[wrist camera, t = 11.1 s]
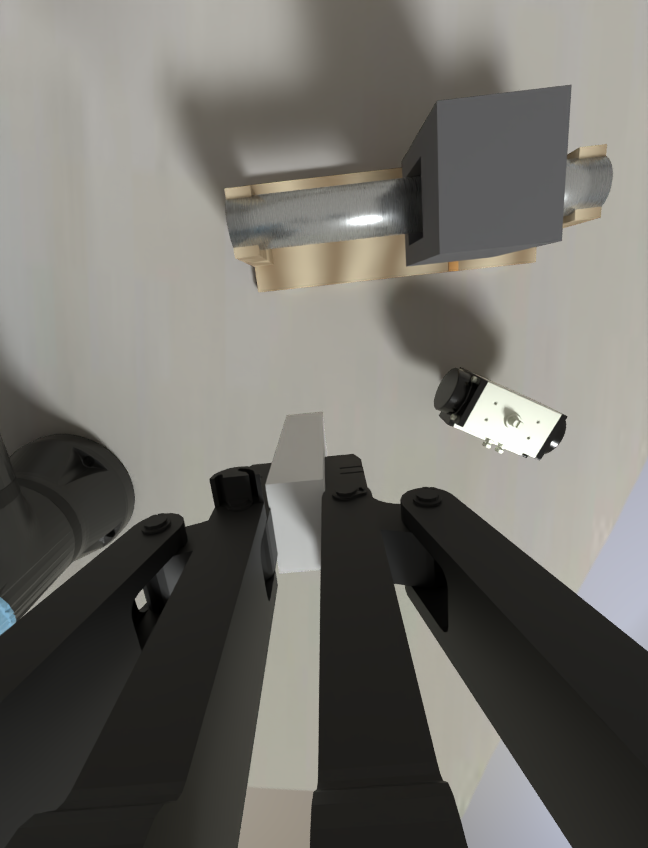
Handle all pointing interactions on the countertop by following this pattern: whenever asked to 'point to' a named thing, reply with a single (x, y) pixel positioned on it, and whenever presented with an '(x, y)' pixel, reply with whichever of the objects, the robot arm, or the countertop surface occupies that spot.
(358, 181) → the pipe rig
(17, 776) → the robot arm
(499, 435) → the pneumatic valve
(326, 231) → the pipe
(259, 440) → the countertop surface
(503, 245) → the collar
